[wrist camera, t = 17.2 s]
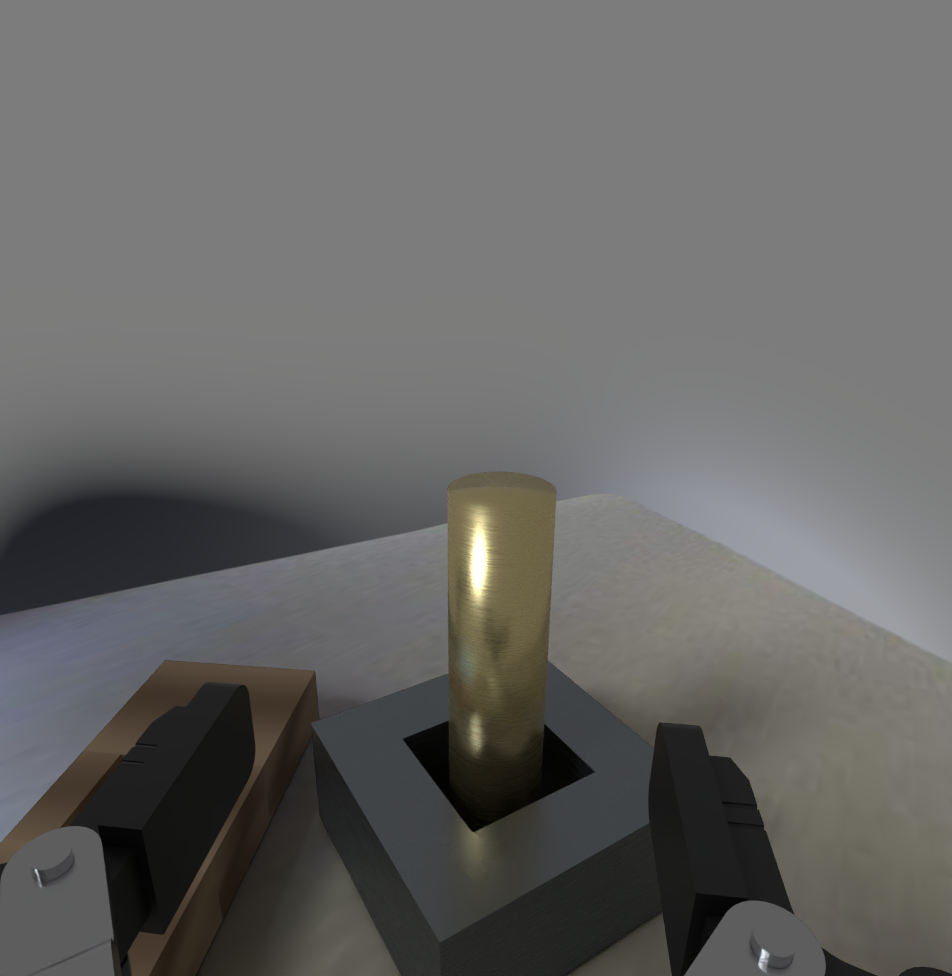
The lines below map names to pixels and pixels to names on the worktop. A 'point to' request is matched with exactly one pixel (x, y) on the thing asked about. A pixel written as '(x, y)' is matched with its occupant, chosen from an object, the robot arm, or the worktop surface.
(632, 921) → the seat block
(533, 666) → the axle
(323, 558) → the worktop surface
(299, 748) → the beam
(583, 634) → the worktop surface
